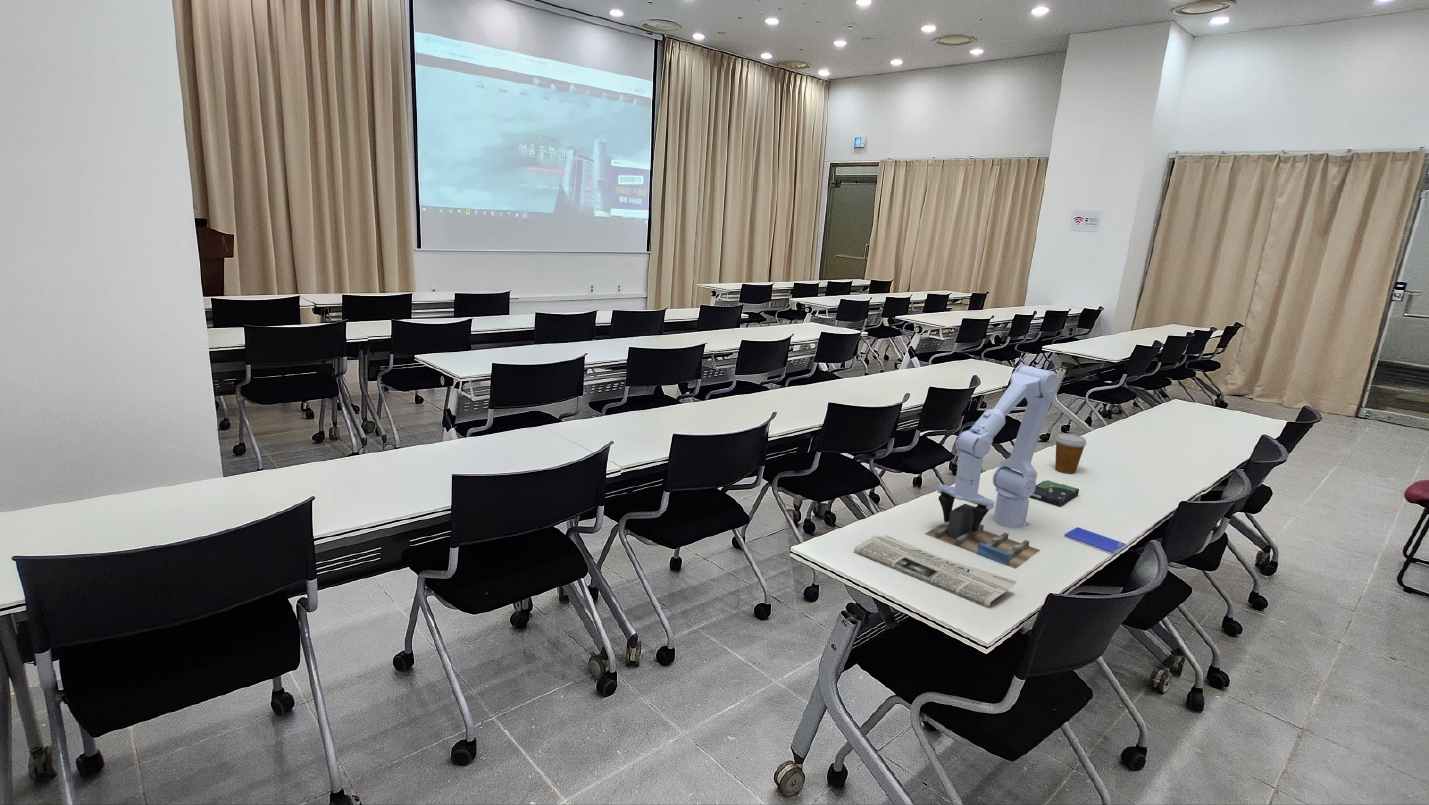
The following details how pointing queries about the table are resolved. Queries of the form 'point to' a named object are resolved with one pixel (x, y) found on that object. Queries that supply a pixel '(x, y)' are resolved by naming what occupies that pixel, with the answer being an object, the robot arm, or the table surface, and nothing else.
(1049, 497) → the disk drive
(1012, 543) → the board
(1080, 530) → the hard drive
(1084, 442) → the disposable coffee cup
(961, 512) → the dark grey tall block
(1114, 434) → the table surface
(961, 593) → the newspaper
